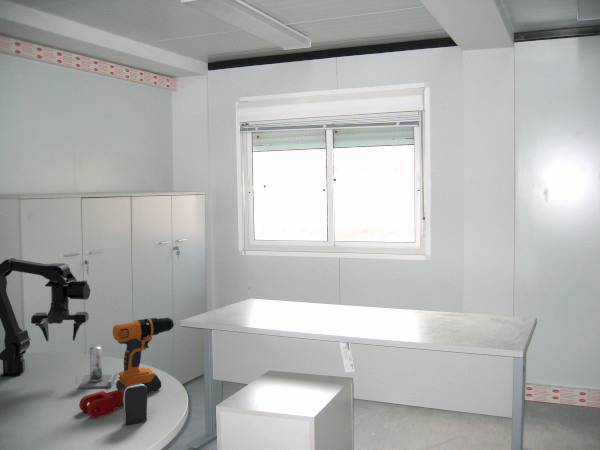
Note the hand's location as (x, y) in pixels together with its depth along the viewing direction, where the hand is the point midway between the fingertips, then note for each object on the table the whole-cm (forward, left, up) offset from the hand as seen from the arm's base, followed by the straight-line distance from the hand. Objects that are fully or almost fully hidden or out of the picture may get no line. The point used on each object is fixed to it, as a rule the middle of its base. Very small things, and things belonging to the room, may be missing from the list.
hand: (60, 340), depth 216 cm
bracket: (+14, -8, -13) cm, 21 cm away
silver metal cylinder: (+14, -8, -12) cm, 20 cm away
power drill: (+32, -17, -13) cm, 39 cm away
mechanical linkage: (+22, -32, -14) cm, 42 cm away
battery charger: (+32, -43, -13) cm, 55 cm away
